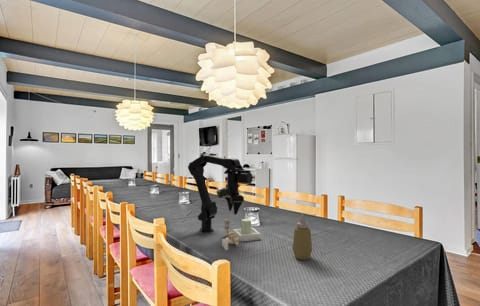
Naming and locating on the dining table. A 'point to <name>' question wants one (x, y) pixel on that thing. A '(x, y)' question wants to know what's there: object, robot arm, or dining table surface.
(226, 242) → the crank housing
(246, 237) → the tray
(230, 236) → the crank
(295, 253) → the squeeze bottle
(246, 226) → the block
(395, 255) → the dining table surface
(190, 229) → the dining table surface
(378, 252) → the dining table surface
